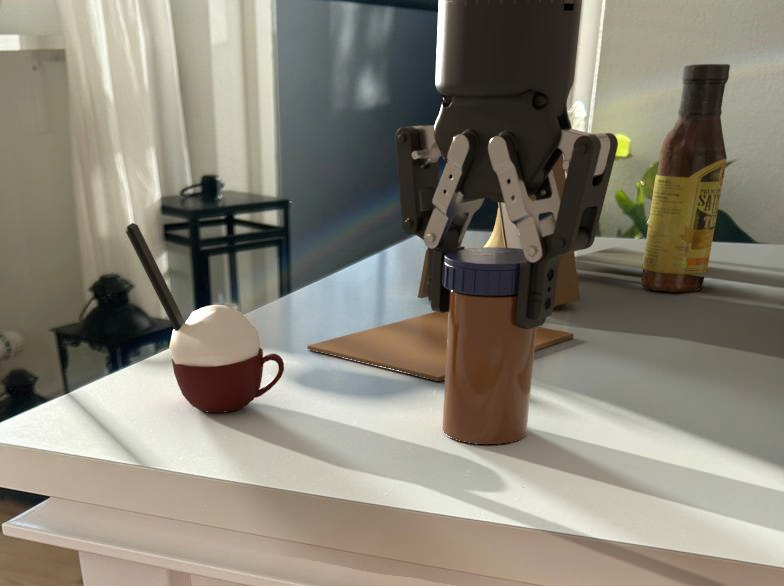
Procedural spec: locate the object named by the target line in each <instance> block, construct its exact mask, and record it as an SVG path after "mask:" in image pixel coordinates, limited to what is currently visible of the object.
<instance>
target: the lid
mask: <svg viewBox="0 0 784 586" xmlns="http://www.w3.org/2000/svg"><path fill="white" fill-rule="evenodd" d="M444 261H445V262H443V278H442V285H444V287H445V288H447V289H449V290H451V291H455V292H459V293H465V294H473V295H488V296H489V295H490V296H500V295H517V294H518V284H519V272H520V263H522V262H526V261H527V259H526V258H525V256H524V252H523V249H517V248H501V247H484V246H483V247H469V248H464V249H459V250H454V251H451V252H448V253H446V254H445V259H444Z"/></svg>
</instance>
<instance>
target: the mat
mask: <svg viewBox="0 0 784 586" xmlns="http://www.w3.org/2000/svg"><path fill="white" fill-rule="evenodd" d="M447 330H448V312H445V313H441V312H436V311H433V312H429V313H426V314H421V315H418V316H414V317H411V318H407V319H403V320H399V321H396V322H392V323H388V324H384V325H380V326H376V327H373V328H368V329H364V330H360V331H357V332H354V333H349V334H345V335H343V336H342V335H341V336H338V337H334V338H331V339H327V340H323V341H319V342H316V343H311V344H308V345H306V347H307V350H308V349H310V350H314V351H318V352H323V353H327V354H332V355H336V356H340V357H344V358H348V359H352V360H356V361H360V362H364V363H369V364H373V365H377V366H382V367H386V368H391V369H394V370H399V371H402V372H406V373H410V374H413V375H417V376H421V377H425V378H428V379H431V380H435V381H434V382H436V381H441V380H444V379H445V369H446V349H447ZM572 339H574V333H573V332H568V331H563V330H557V329H552V328H548V327H541V326H538V327H536V338H535V348H534V352H535V351H538V350H541V349H543V348H548V347H550V346H554V345H557V344H559V343H562V342H565V341H568V340H572ZM431 380H430V381H431ZM444 381H445V380H444ZM441 382H442V381H441Z"/></svg>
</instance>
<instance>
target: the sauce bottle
mask: <svg viewBox="0 0 784 586" xmlns="http://www.w3.org/2000/svg"><path fill="white" fill-rule="evenodd" d="M730 68H731V64H729V63H689V64H685V65H684V66H683V72H682V78H681V80H682V91H681V98H680V105H679V109H678V111H677V117H678V119H677V120H676V122H675V123H674V125H673V127H672V129H671V130H670V131H668V133H667V134H666V136H665V138H664V140H663V141H662V143H661V148H660V151H659V161H658V167H657V173H656V174H655V179H654V185H653V192H652V199H651V206H650V211H649V219H648V226H647V232H646V238H645V244H644V245H645V246H644V251H643V260H642V266H641V268H642V276H641V286H642V287H644V289H648V290H650V291H656V292H668V293H680V292H681V293H682V292H692V291H698V290H700V289H701V288H702V287H703V285H704V282H705V281H704V280H705V276H700V275H699V274H704V273H707V271H708V268H709V262H710V256H711V251H712V245H713V240H714V233H715V228H716V223H717V217H718V211H719V206H720V200H721V195H722V188H723V182H724V178H725V171H726V167H727V166H726V165H727V161H728V157H727V152H726V146H725V139H724V134H723V126H722V119H721V116H722V114H723V111H722V107H723V99H724V94H725V90H726V89H725V88H726V84H727V82H728V81H729V78H730ZM697 274H698V275H697Z"/></svg>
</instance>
